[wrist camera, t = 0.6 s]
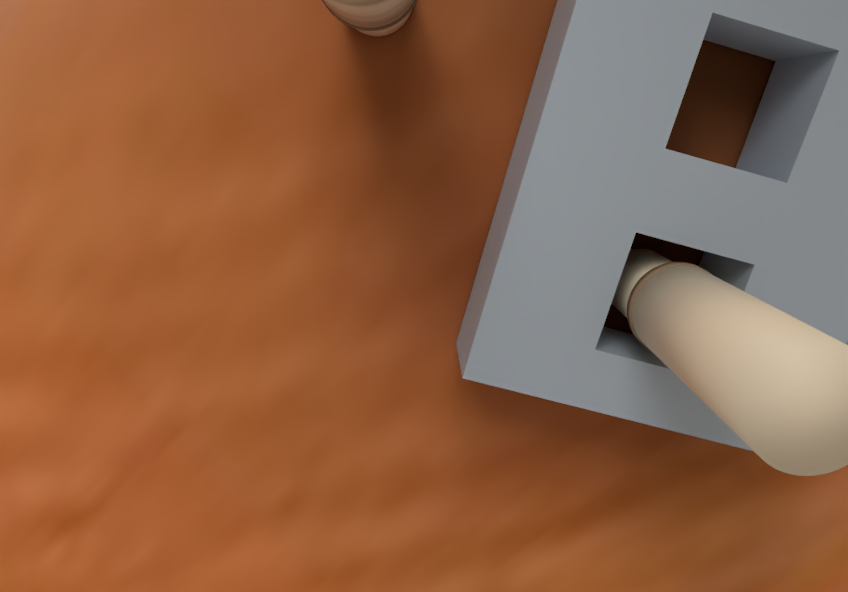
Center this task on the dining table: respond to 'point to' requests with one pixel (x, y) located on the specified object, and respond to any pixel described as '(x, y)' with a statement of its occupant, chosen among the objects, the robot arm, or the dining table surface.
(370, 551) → the dining table surface
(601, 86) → the seat board
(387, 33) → the beech leg
